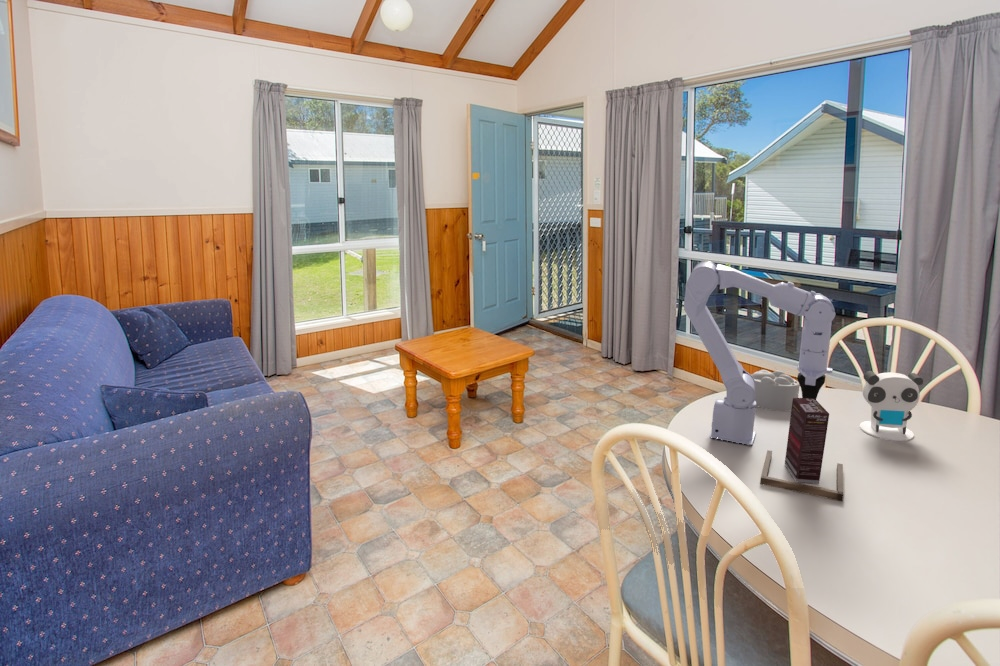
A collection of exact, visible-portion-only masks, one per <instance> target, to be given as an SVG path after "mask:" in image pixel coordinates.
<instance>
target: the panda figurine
mask: <svg viewBox="0 0 1000 666" xmlns="http://www.w3.org/2000/svg"><path fill="white" fill-rule="evenodd" d="M863 379H864V381H865V384H864V386H863V387H862V388H863V389H862V396H863V398H864V400H865V402H866V403H867V404H869V406H870V408H871V411H870V412H871V413H870V414H871V415H870V420H865V421H862V422H860V424H859V429H860V430H861V431H862V432H863V433H865V434H867V435H869V436H871V437H874V438H877V439H881V440H886V441H893V442H906V441H907V442H908V441H910V440H913V438H914V434H915V433H914V432H913V431H912V430H910V429H909V428H907V423H908V421H909V420H911V418H912V417H913V414H912V412H911V411H912V410H914V409H915V408H916V406H918V403H919V400H920V389H919V386H921V385H923V383H924V380H923V378H922V377H921V376H919V375H918V374H917V373H916V372H910V373H909V374H908V375H906V374H904V373H899V372H881V373H877V374H876V373H875V372H874V371H872V370H868V371H865V372H864V374H863Z"/></svg>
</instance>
